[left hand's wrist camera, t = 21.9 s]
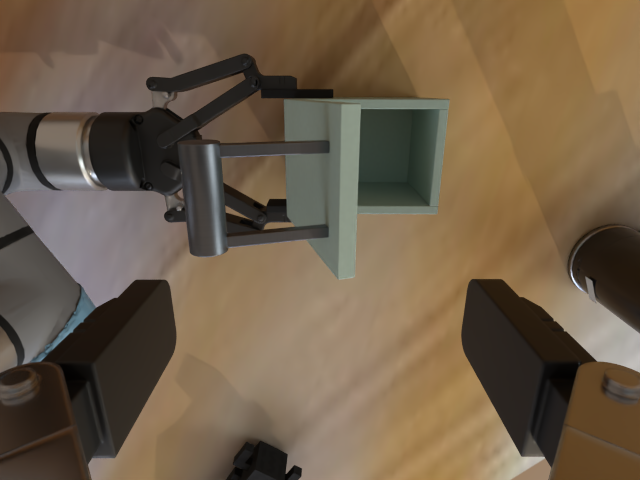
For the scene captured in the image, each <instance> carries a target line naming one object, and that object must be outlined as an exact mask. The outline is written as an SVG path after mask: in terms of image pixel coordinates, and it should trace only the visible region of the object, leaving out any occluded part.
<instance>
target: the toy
mask: <svg viewBox="0 0 640 480" xmlns="http://www.w3.org/2000/svg"><path fill="white" fill-rule="evenodd" d="M287 455H288V454H286V453H284V452H282V451H280V450H278V449H276V448H274V447H272V446H270V445H268V444H266V443H264V442H262V441H260V442H259V444H258V445H257V446H256V447H255V448H254V445H252V444H250V443H248V442H246V443H245V445H244V446H243V447H242V448H241V450H240V451H239V452H238V453H237V455H236V456H235V458H234V462H233V465H235V466H237V467H239V468H241V469H239V468H237V467H235V468H234V470H233V471H232V472H231V474H230V475H229V476H228V478H227V479H226V480H298V479H299V478H300V477H301V473H302V468H300V467H297V466H295V465H294V466H293V467H292V468H291V470H290V471H289V472H288V473H287V474H285V473H286V464H287Z"/></svg>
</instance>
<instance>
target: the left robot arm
mask: <svg viewBox="0 0 640 480" xmlns="http://www.w3.org/2000/svg"><path fill="white" fill-rule="evenodd" d="M568 273H569V276H570V279H571V280H572V282H573V283H574V284H575V285H576V286H577V287H578V288H579V289H581V290H582V291H584V292H585V293H587V294H589V298H590V299H591V300H592V301H594V302H595V303H596V301H598V302H599V303H600V304H602V305H603V306H604V307H605V308H607V309H608V310H609V311H611V312H612V313H613V314H615V315H616V316H617V317H619V318H620V319H621V320H623V321H624V322H625V323H627V324H628V325H629V326H631V327H632V328H633V329H635V330H636V331H637V332H639V333H640V231H636V230H634V229H632V228H630V227H627V226H624V225H615V224H614V225H606V226H602V227H599V228H597V229H595V230H593V231H591V232H589V233H588V234H586V235H585V236H584V237H583V238H582V239H581V240H580V241H579V242H578V243H577V244H576V245H575V247H574V248H573V250H572V252H571V254H570V257H569V261H568ZM461 337H462V346H463V350H464V353H465V355H466V357H467V359H468V360H469V362H470V364H471V366H472V368H473V369H474V371H475V373H476V375H477V377H478V379H479V380H480V382H481V384H482V386H483V388H484V389H485V391H486V393H487V395H488V397H489V398H490V400H491V402H492V404H493V406H494V407H495V409H496V411H497V413H498V415H499V417H500V418H501V420H502V422H503V424H504V426H505V427H506V429H507V431H508V433H509V435H510V436H511V438H512V440H513V442H514V444H515V445H516V447H517V449H518V451H519V453H520V455H521V456H522V457H545V458H546V460H547V461H548V463H549V465H550V466H551V472H550V476H549V479H548V480H640V373H639V372H637V371H635V370H632V369H630V368H627V367H624V366H621V365H617V364H613V363H608V362H597V361H596V360H595V359H594V358H593V357H592V356H591V355H590V354H589V353H588V352H587V351H586V350H585V349H584V348H583V347H582V346H581V345H580V344H579V343H578V342H577V341H576V340H575V339H573V338H572V337H571V336H570V335H569V334H568V333H567V332H564V329H563V328H562V327H561V326H560V325H559V324H558V323H557V322H556V321H554V320H553V318H552V317H551V316H550V315H549V314H548V313H547V312H546V311H545V310H544V309H543V308H542V307H540V306H538V305H536V304H535V303H533V302H531V301H529V300H527V299H525V298H524V297H519V296H518V295H517V294H516V293H515V292H514V291H513V290H512V289H511V288H510V287H509V286H508V285H507V284H506V283H505V282H504V281H503V280H502V279H472V280H471V281H470V282H469V285H468V289H467V296H466V303H465V310H464V317H463V324H462V333H461ZM175 345H176V326H175V319H174V312H173V305H172V298H171V291H170V286H169V284H168V282H167V281H166V280H135V281H134V282H133V283H132V284H131V285H130V286H129V287H128V288H127V289H126V290H125V291H124V292H123V293H122V294H121V295H120V296H119V297H118V298H113V299H111V300H110V301H108V302H106V303H104V304H102V305H100V306H99V307H97V308H95V309H94V310H93V311H92V312H91V313H90V314H89V315H88V316H87V317H86V318H85V319H84V321H83V322H81V323H80V324H79V325H78V326H77V327H76V328H75V329H74V330H73V332H70V333H69V334H68V335H67V336H66V337H65V338H64V339H63V340H62V341H61V342H60V343H59V344H58V345H57V346H56V347H55V348H54V349H53V350H52V351H51V352H50V353H49V354H48V355H47V356H46V357H45V358H43V359H42V360H41V361H40V362H32V363H27V364H23V365H19V366H16V367H13V368H10V369H8V370H5V371H3V372H1V373H0V480H92V479H91V475H90V472H89V468H88V464H89V462H90V460H91V459H92V458H115V457H116V455H117V454H118V452H119V450H120V448H121V447H122V445H123V443H124V441H125V439H126V438H127V436H128V434H129V432H130V430H131V429H132V427H133V425H134V423H135V422H136V420H137V418H138V416H139V414H140V413H141V411H142V409H143V407H144V405H145V404H146V402H147V400H148V398H149V396H150V395H151V393H152V391H153V389H154V388H155V386H156V384H157V382H158V380H159V379H160V377H161V375H162V373H163V371H164V370H165V368H166V366H167V364H168V363H169V361H170V359H171V357H172V355H173V353H174V350H175Z"/></svg>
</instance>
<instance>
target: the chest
mask: <svg viewBox="0 0 640 480" xmlns="http://www.w3.org/2000/svg"><path fill="white" fill-rule="evenodd" d="M293 99H304V100H318V101H332V102H346V103H360V104H361V115H360V143H359V172H358V200H357V214H437V212H438V202H439V192H440V183H441V174H442V164H443V155H444V145H445V136H446V126H447V117H448V108H449V99H436V98H419V97H333V98H293Z"/></svg>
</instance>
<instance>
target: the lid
mask: <svg viewBox="0 0 640 480" xmlns="http://www.w3.org/2000/svg"><path fill="white" fill-rule="evenodd" d="M360 115H361V104H360V103H346V102H332V101H318V100H304V99H284V124H285V141H279V142H248V143H220V141H217V140H186V141H180V142H178V143H177V145H178V154H179V162H180V171H181V179H182V188H183V197H184V205H185V214H186V222H187V231H188V240H189V248H190V253H191V254H192V255H194V256H198V257H213V256H218V255H221V254H223V253H225V252H227V251H228V248H230V247H240V246H250V245H260V244H269V243H279V242H289V241H298V240H307V242H308V243H309V244H310V245H311V247H312V248H313V249H314V250H315V251H316V253H317V254H318V255H319V256H320V258H321V259H322V260H323V261H324V263H325V264H326V265H327V266H328V268H329V269H330V270H331V271H332V273H333V274H334V275H335V276H336V278H337V279H346V278H353V277H355V257H356V229H357V200H358V172H359V143H360ZM276 155H285V161H286V198H287V217H288V218H289V219H290V220H291V222H292V223H293V224H294V225H295V227H288V228H277V229H267V230H256V231H245V232H234V233H227V224H226V212H225V199H224V187H223V175H222V162H221V158H229V157H252V156H276Z"/></svg>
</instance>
